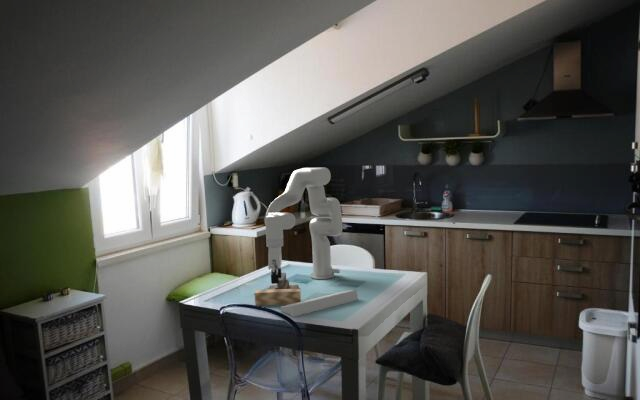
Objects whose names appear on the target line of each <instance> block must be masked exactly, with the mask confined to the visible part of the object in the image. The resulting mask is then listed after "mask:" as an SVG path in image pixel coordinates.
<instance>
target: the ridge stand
mask: <svg viewBox="0 0 640 400" xmlns="http://www.w3.org/2000/svg"><path fill="white" fill-rule="evenodd" d="M299 287H300V286H299V284H290V280H289V279H287V273H286V272H281V278H279V283H278V284H275V285H273V284H271V285H269V287H268V289H267V290H273V289H300V288H299Z"/></svg>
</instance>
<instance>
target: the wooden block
mask: <svg viewBox="0 0 640 400" xmlns="http://www.w3.org/2000/svg"><path fill="white" fill-rule="evenodd" d="M298 302H302V296H301V288H298V289H273V290H268V289H256V290H255V292H254V303H255V306H278V305H279V306H280V305H282V306H286V305H290V304H294V303H298Z"/></svg>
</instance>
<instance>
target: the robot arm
mask: <svg viewBox="0 0 640 400" xmlns="http://www.w3.org/2000/svg"><path fill="white" fill-rule="evenodd" d="M331 178H332V176H331V171H330V169H329V168H327V167H321V166H320V167H302V168H299V169H296V170H294V171H293V172H292V173H291V175H290V177H289V180H288V182H287V184H286V188H285V190H284V192H283V193H282V194H280V195H278V197H276V198H275V199H274V200H273V201H272V202H270V204H269V206H268V207H267V210H266V212H265V215H264V221H263V222H264V225H265V239H266V241H265V242H266V247H267V248H268V251H267V252H268V253H267V254H268V256H267V257H268V259H267V260H268V263H267V264H268V265H267V266H268V267H267V268H268V270H271V271H270V279H271V281H270V283H271V285H273V284H275V285H277V284H278V283H279V278H281V273H282V263H283V261H282V258H283V257H282V247H284V246H285V245H284V230H291V229H292V228H293V227H294V226H295V225H296V220H297V218H296V217H295V215H294V214H293V213H291V212H281V211H282V210H284V209H285V208H287V207H291V206H293V205H296V204H298V203H299V202H301V200H302V197H303V194H304V192H305V189H306V190H307V193H308V201H309V209H310V213H311V214H312V215H314V216H317V217H314V218H312V219H311V220H310V221H309V232H310V236H311V247H312V248H311V250H312V269H313V271H312V273H311V274H310V278H312V279H315V280H327V279H333V278H334V277H335V274H340V273H341V271H340V270H341V269H338V268H333V267H332V256H331V242H330V240H329V238H328V237H338V236H341V234H342V232H343V219H342V217H343V216H342V208H341V203H340V201H339V200H338V199H337V198H336V197H326V192H325V187H324V186H326V185H327V184H329V182H330V181H331Z"/></svg>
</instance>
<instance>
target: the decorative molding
mask: <svg viewBox="0 0 640 400" xmlns="http://www.w3.org/2000/svg"><path fill="white" fill-rule="evenodd" d="M357 291H358V290H357V289H352V290H351V289H350V290H342V291H338V292H335V293H331V294H326V295H322V296H319V297H315V298H314V297H313V298H311V299H307V300H303V301H302V300H301V302H298V303H294V304H287V305H282V306H280V311H281V312H283V313H284V314H287V315H289V316H290V315H291V317H292V316H293V318H296V317H300V316H303V315H302V314H304V315H307V314H310V312H311V313H314V312H313V311H315V312H318V311H321V310H326V309H329V308H333V307H336V306H337V307H338V306H340V305H344V304H348V303H351V302H356V301H358V300H359V297H358V292H357ZM306 313H307V314H306ZM295 316H296V317H295Z"/></svg>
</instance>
